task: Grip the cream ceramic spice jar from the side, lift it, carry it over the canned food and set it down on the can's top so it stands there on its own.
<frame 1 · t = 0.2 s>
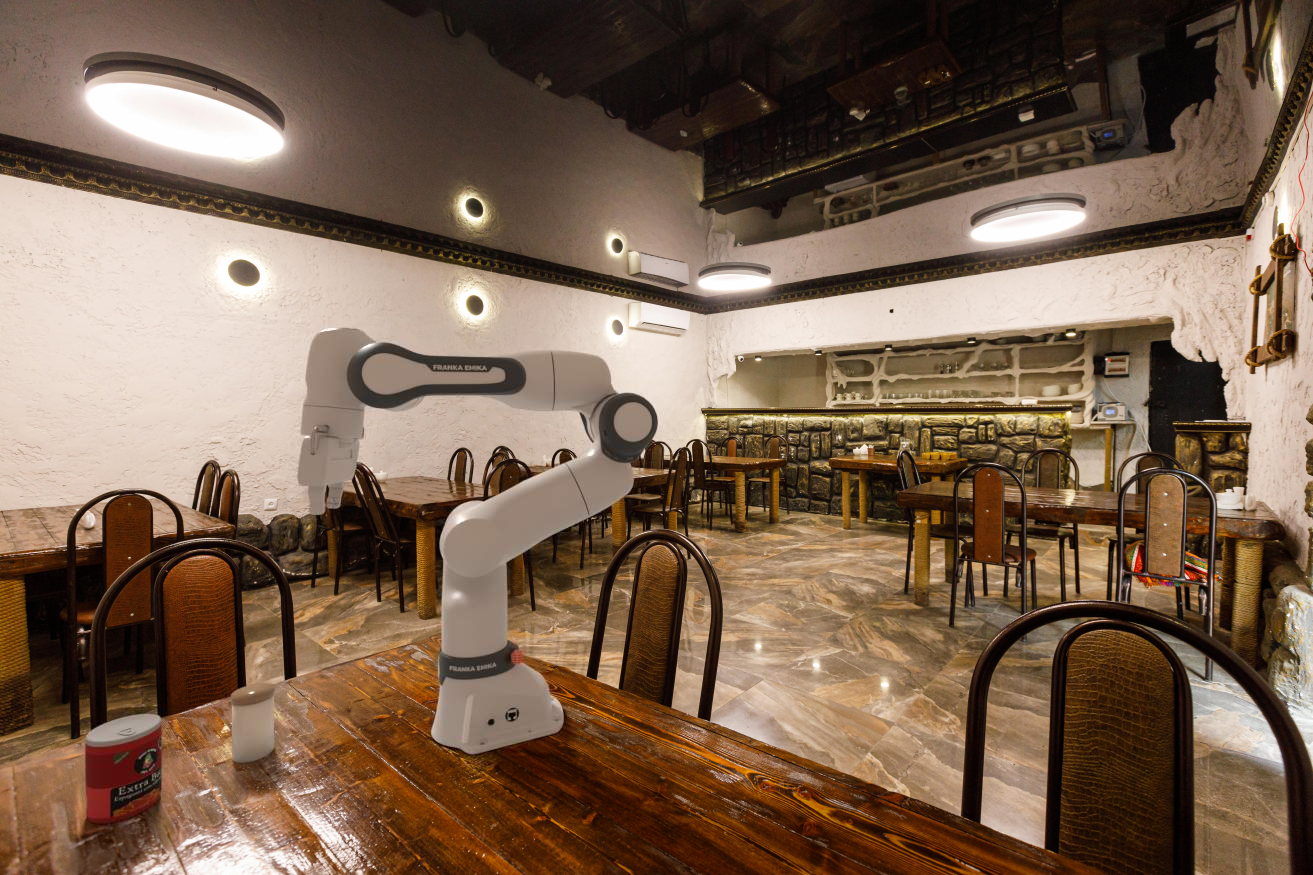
hand: (325, 511, 93), 39 cm above the table, tool pointing down, fingers open, 8 cm apart
canned food: (124, 807, 78), on the table
spice jar: (253, 752, 92), on the table
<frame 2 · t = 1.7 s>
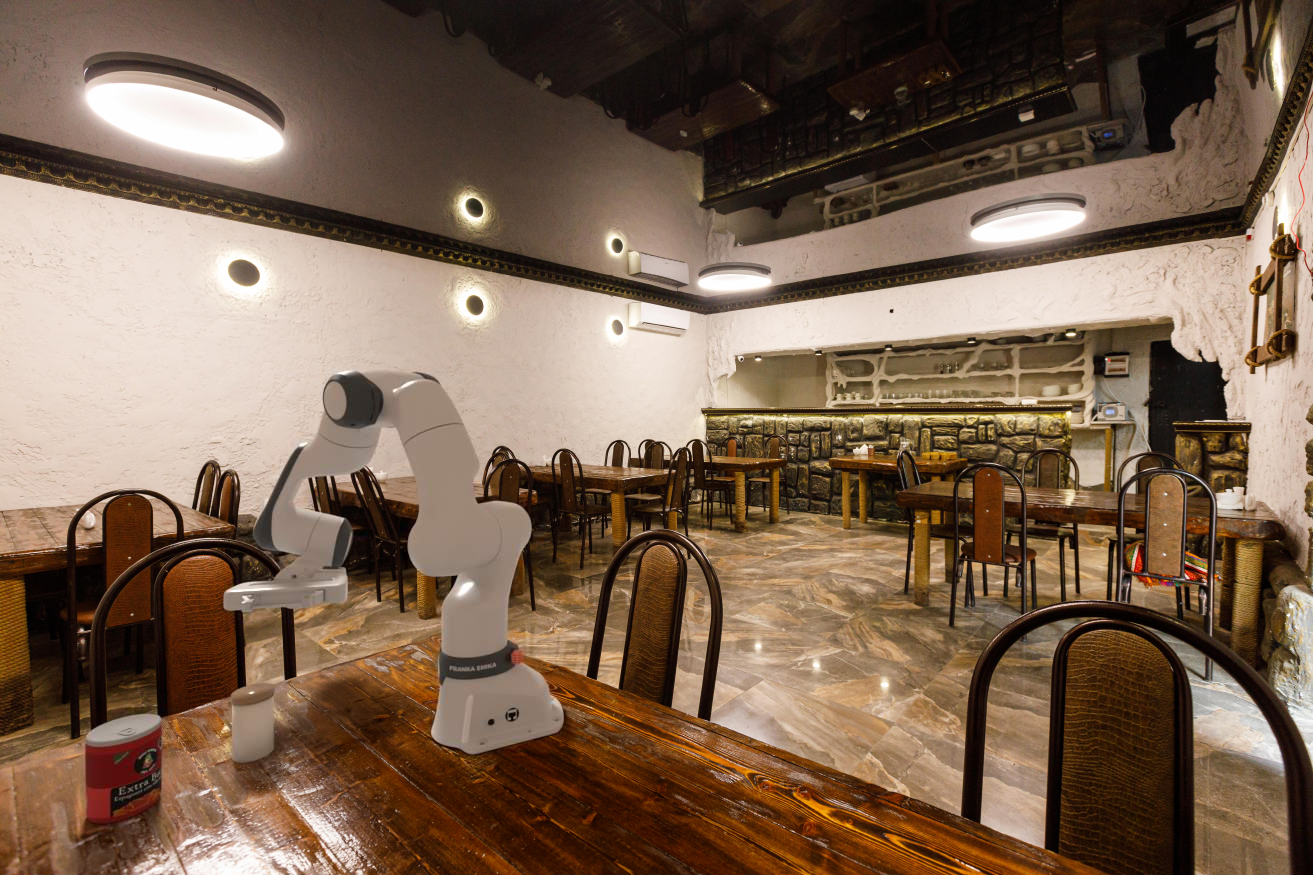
hand: (276, 605, 103), 20 cm above the table, tool horizontal, fingers open, 8 cm apart
nothing on the table moved.
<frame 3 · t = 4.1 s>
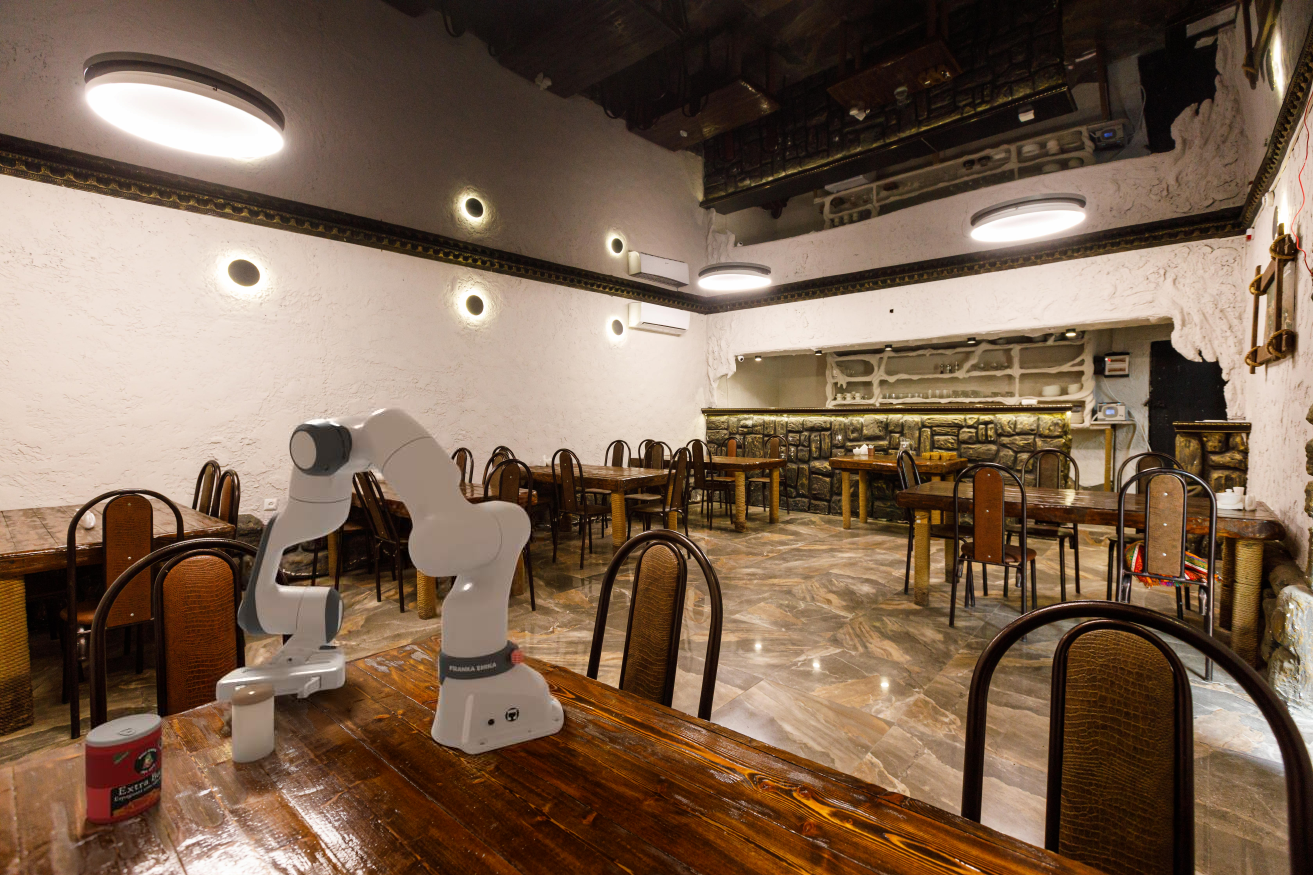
hand: (270, 697, 99), 5 cm above the table, tool horizontal, fingers open, 8 cm apart
nothing on the table moved.
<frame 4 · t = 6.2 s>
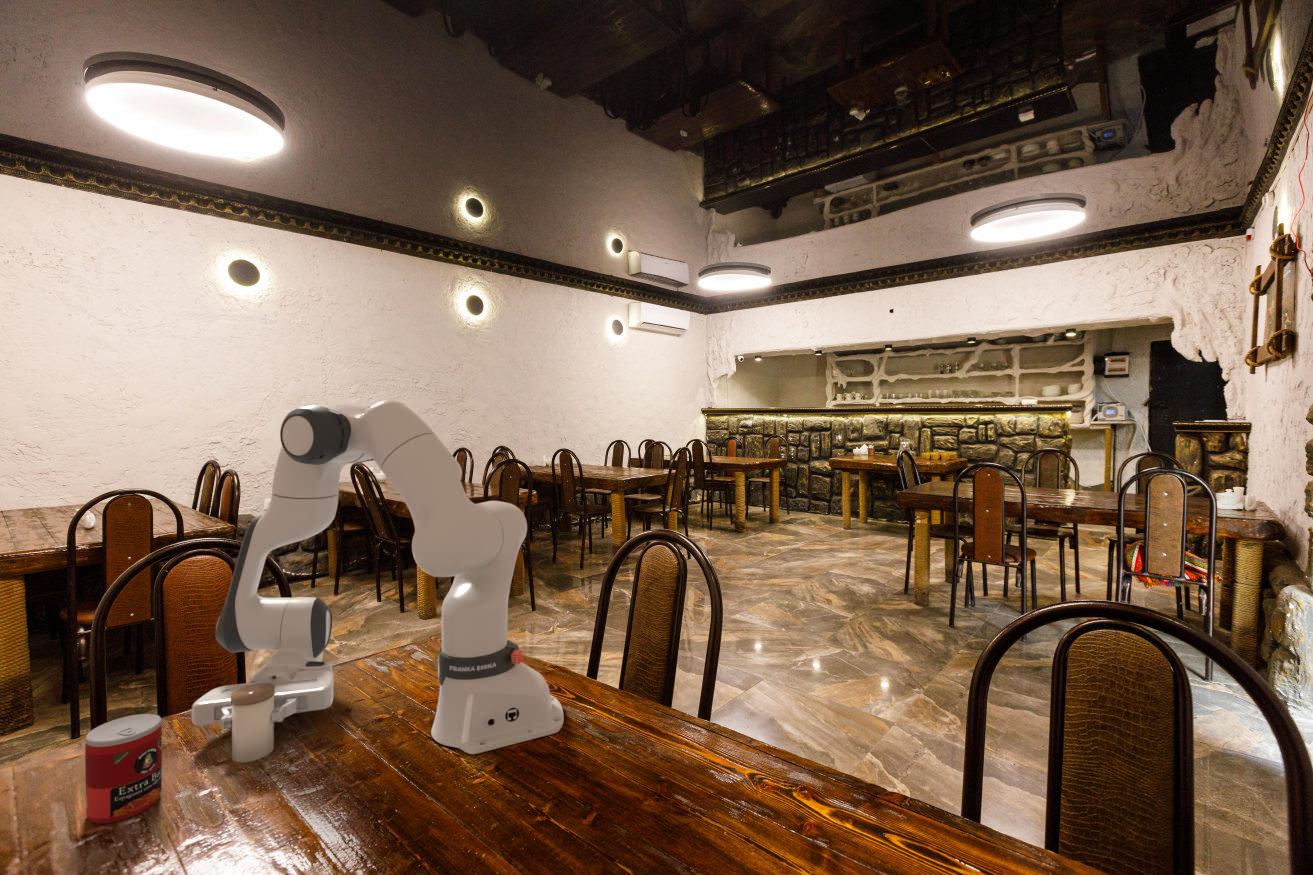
hand: (251, 720, 91), 6 cm above the table, tool horizontal, fingers closed on spice jar, 5 cm apart
spice jar: (253, 752, 92), on the table, touching gripper
everything else where it was.
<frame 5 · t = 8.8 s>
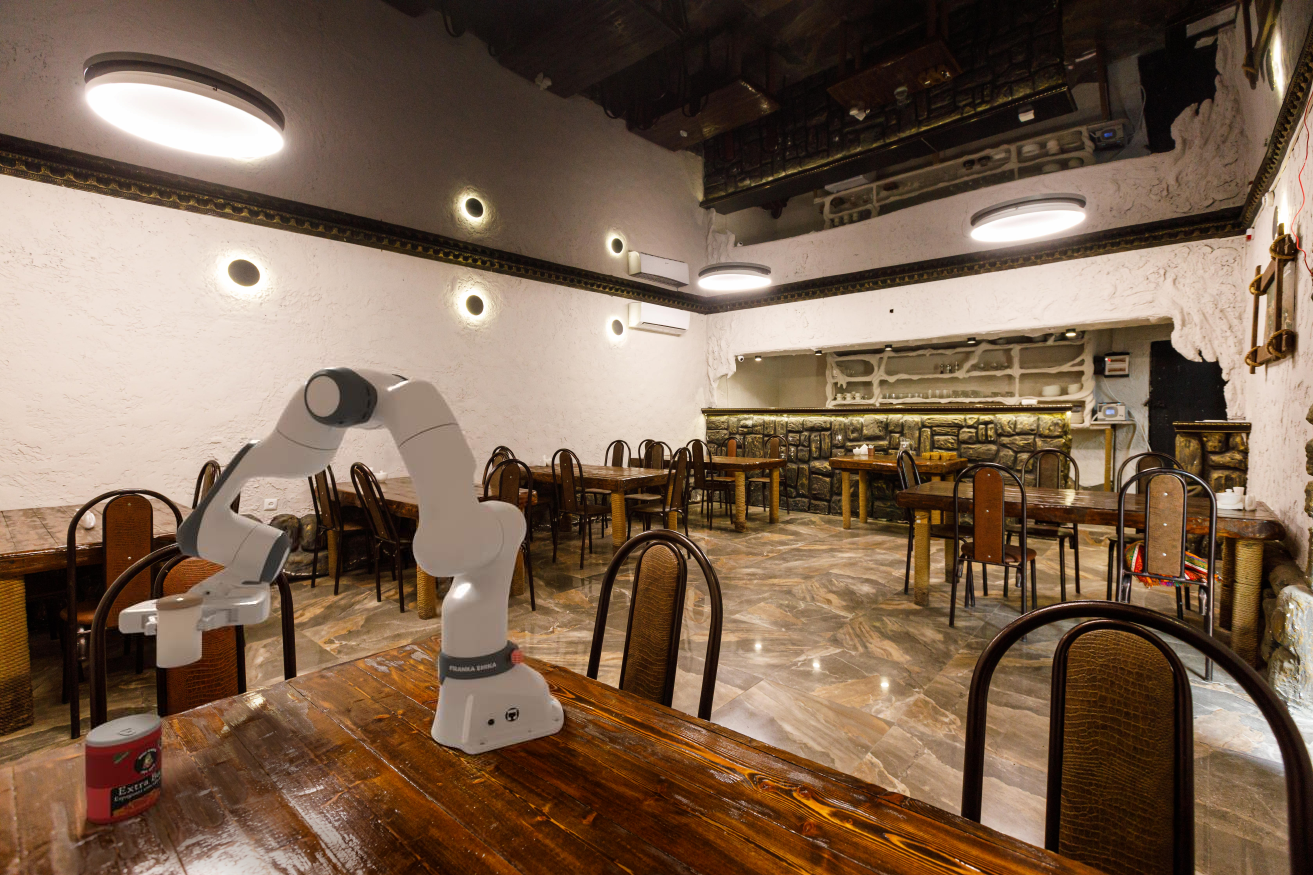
hand: (176, 627, 90), 21 cm above the table, tool horizontal, fingers closed on spice jar, 5 cm apart
spice jar: (179, 660, 91), point 15 cm above the table, touching gripper
everything else where it was.
when the fingers open (18 cm above the table, at t = 11.5 s): spice jar drops 1 cm, resting on canned food.
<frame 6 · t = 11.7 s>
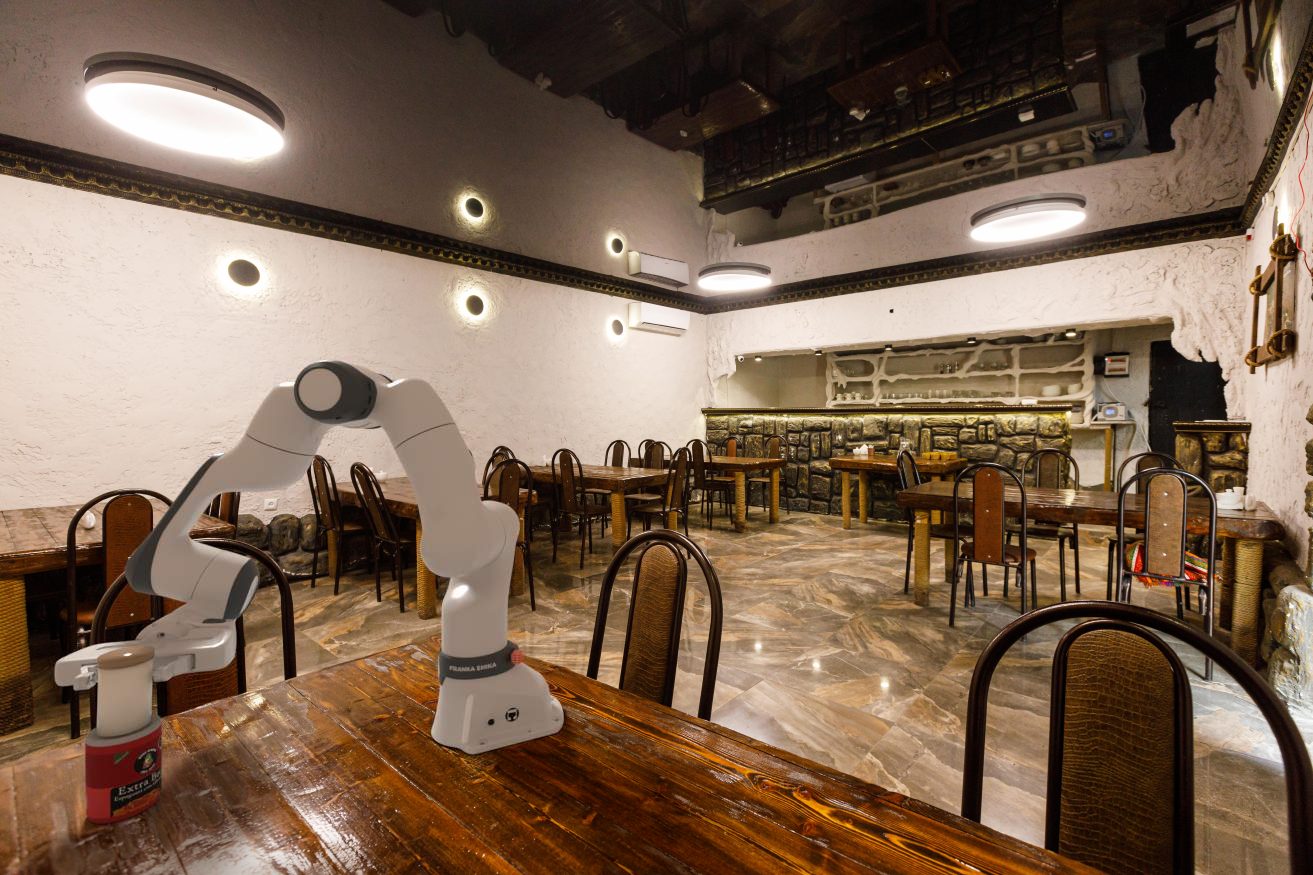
hand: (120, 679, 77), 18 cm above the table, tool horizontal, fingers open, 7 cm apart
canned food: (124, 807, 78), on the table, touching spice jar
spice jar: (124, 725, 78), point 11 cm above the table, touching canned food
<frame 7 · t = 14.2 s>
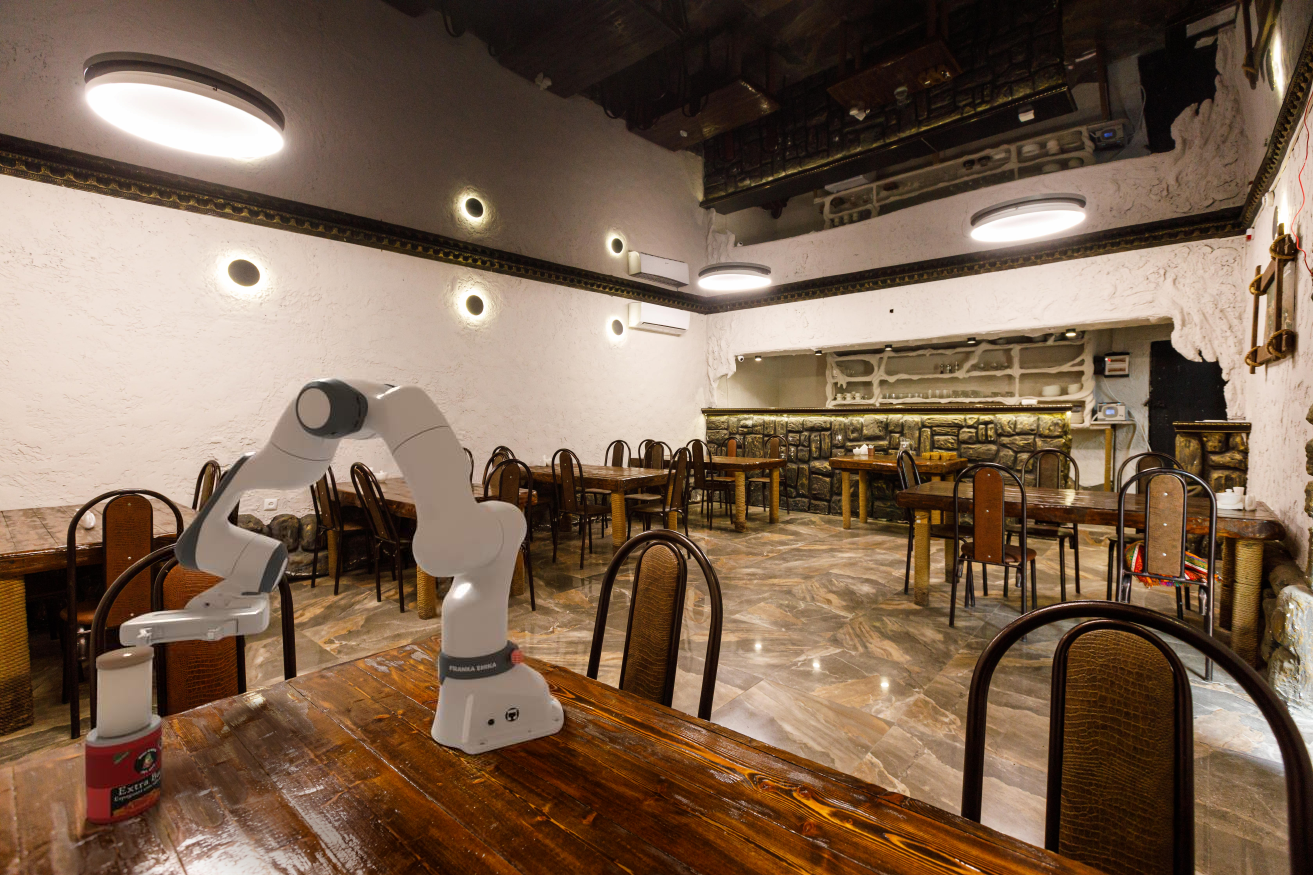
hand: (177, 639, 91), 18 cm above the table, tool horizontal, fingers open, 8 cm apart
nothing on the table moved.
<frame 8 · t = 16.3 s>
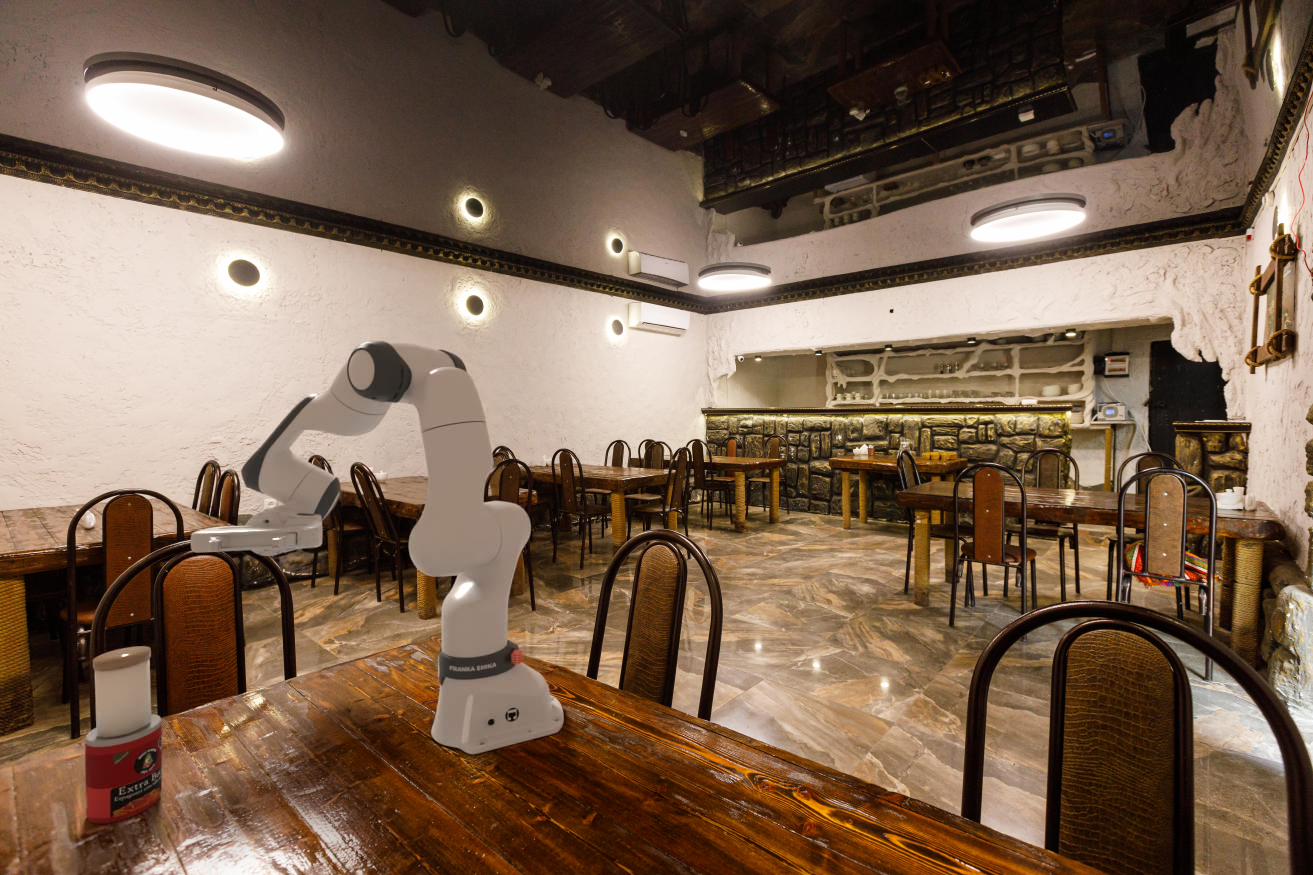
hand: (245, 545, 99), 32 cm above the table, tool horizontal, fingers open, 8 cm apart
nothing on the table moved.
at the end: spice jar 0.0 cm from the canned food (horizontally); spice jar point 11.0 cm above the table; spice jar tilted 1° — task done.
